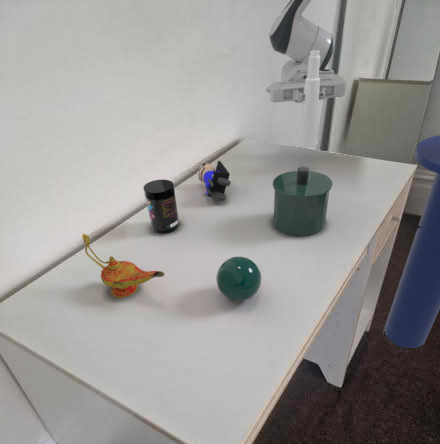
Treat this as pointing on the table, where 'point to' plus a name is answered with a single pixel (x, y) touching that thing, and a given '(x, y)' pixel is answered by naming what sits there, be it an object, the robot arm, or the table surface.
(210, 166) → the character figurine
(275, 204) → the pot
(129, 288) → the magic lamp
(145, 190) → the supplement container
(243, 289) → the sphere
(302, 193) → the pot lid
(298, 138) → the cosmetic bottle
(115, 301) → the table surface
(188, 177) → the table surface
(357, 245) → the table surface
